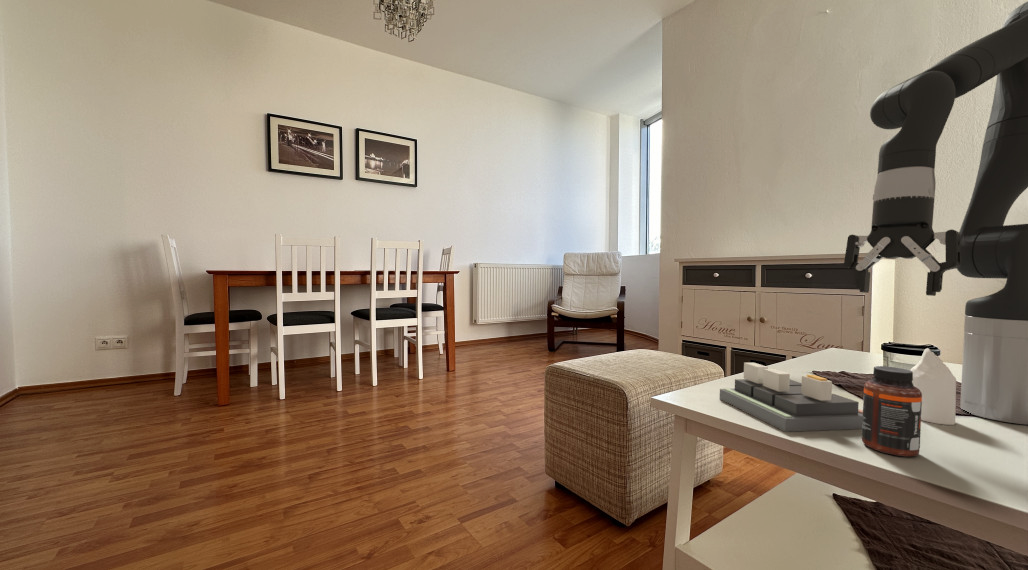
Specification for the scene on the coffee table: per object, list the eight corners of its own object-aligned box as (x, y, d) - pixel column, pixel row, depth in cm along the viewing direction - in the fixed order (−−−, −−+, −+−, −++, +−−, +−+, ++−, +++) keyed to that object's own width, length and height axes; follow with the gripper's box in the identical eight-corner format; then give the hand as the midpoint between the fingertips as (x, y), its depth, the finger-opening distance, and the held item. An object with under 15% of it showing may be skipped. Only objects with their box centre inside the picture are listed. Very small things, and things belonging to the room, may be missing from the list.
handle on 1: (753, 378, 77) (753, 362, 77) (767, 383, 74) (767, 367, 74) (743, 378, 77) (744, 362, 77) (757, 383, 74) (757, 367, 74)
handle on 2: (773, 385, 73) (773, 368, 72) (789, 391, 69) (789, 373, 69) (762, 385, 72) (763, 368, 72) (778, 391, 69) (779, 374, 69)
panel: (794, 397, 80) (795, 377, 80) (876, 428, 64) (877, 403, 64) (719, 399, 78) (720, 378, 78) (785, 431, 62) (786, 406, 62)
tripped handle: (811, 393, 68) (812, 373, 68) (831, 400, 64) (832, 379, 64) (801, 393, 68) (801, 374, 68) (820, 400, 64) (820, 379, 64)
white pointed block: (969, 353, 65) (927, 351, 66) (965, 426, 65) (924, 423, 67) (939, 346, 71) (901, 344, 72) (936, 414, 71) (898, 411, 73)
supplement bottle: (932, 461, 53) (936, 375, 53) (879, 456, 54) (883, 372, 54) (898, 442, 59) (902, 365, 58) (851, 438, 60) (855, 362, 60)
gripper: (970, 196, 65) (962, 297, 65) (859, 207, 77) (852, 292, 77) (958, 188, 61) (949, 296, 61) (842, 200, 73) (835, 290, 73)
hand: (895, 293), depth 69 cm, fingers open, 8 cm apart
